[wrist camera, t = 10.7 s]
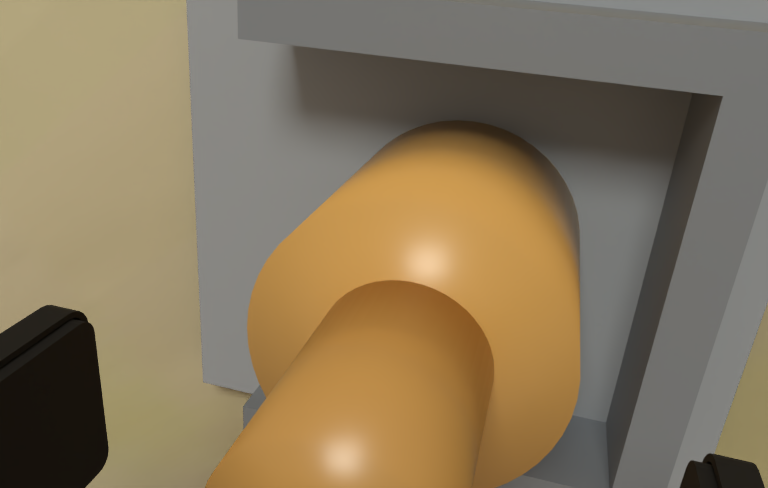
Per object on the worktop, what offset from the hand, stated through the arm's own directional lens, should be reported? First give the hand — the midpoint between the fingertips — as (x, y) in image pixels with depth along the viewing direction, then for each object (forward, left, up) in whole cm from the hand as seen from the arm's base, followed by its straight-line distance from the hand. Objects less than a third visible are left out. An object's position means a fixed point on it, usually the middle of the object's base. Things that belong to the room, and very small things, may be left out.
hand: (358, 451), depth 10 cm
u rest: (0, 0, -10) cm, 10 cm away
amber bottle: (0, 0, -9) cm, 9 cm away
